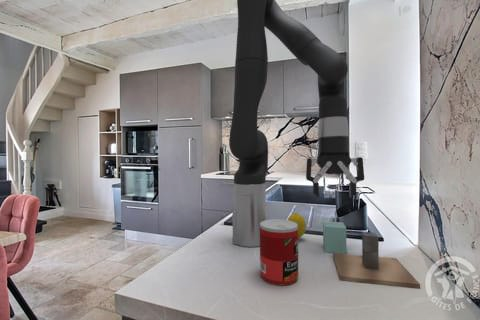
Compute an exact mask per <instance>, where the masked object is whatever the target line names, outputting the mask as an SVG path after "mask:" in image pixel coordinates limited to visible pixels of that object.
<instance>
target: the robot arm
mask: <svg viewBox="0 0 480 320" xmlns="http://www.w3.org/2000/svg"><path fill="white" fill-rule="evenodd" d="M236 5H237V35H236V47H235V60H234V62H235V63H234V92H233V109H232V110H233V111H232V116H231V123H230V130H229V131H230V132H229V138H228V139H229V140H228V146H229V150H230V152H231V154H232V156H233V157H234V158H236V159H237V160H239V162H238V163H239V165H238V168H237V170H236V172H235V173H234V175H233V193H234V194H233V200H234V202H233V205H234V207H233V208H234V209H233V210H232V214H231V217H232V244H235V245H238V246H241V247H247V248H252V247H260V223H261V222H262V221H265V220H267V197H266V195H267V192H266V191H267V189H266V187H267V186H266V182H267V180H266V178H267V173H268V171H269V170H268V168H269V142H268V139H267V136H266V135H265V133H264V132H262V131H261V130H259V129H258V110H259V106H260V102H261V100H262V98H263V95H264V92H265V90H266V89H265V88H266V86H267V80H268V70H269V69H268V68H269V67H268V66H269V60H268V59H269V56H268V46H267V45H268V43H267V37H266V30H265V29H267V30H268V31H270V33H272V34H273V35H274V36H275V37H276V38H277V39H278V40H279V41H280V43H282V44H283V45H284V46H285V48H286V49H288V50H289V52H290V53H291V54H292V55H293V56H294V57H295V58H296V59H297V60H298V61H299V62H300V63H302V64H303V65H304V66H308V67H310V69H312V70H313V72H314V73H315V74H316V75H317V89H318V99H319V102H318V128H317V131H318V133H317V136H318V137H317V139H318V140H317V141H318V157H317V158H309V157H308V158H307V159H306V169H305V174H306V175H305V180H306V181H309V182H311V183H312V189H313V190H312V193H313V195H314V196H315V198H320V185H319V181H320V179H321V178H322V177H323V176H324V175H325V174H327V175H333V174H334V175H341V174H344V176H345V178H347V179H348V181H349V183H348V185H349V188H348V189H349V192H348V193H349V194H348V195H349V198H350V199H351V198H352V199H353V198H355V196H357V184H358V183H359V182H364V180H365V169H364V168H365V167H364V159H363V157H361V156H358V157H353V158H351V157H350V144H349V143H350V142H349V141H350V138H349V136H350V135H349V133H350V132H349V121H348V105H347V104H348V101H347V98H346V97H345V79H346V76H347V75H348V72H349V68H348V67H349V66H348V62H346V60H345V58H344V57H343V55H341V54H340V53H339V52H337V51H336V50H334V49H333V48H332V47H330V46H329V45H326V44H325V43H323V42H322V41H321V40H320V38H318V37H317V36H316V34H314V33H313V31H311V29H309V27H307V26H306V25H305V24H303V23H302V22H300V21H299V20H297V19H294V18H293V17H291V16H290V15H288V14H287V13H286V12H285V11H284V10H283V9H282V7H280V5H279V3H277V1H276V0H236ZM316 163H317V165H318V166H319V167H320V169H319V171H317V173H316V175H315V176H312V168H313V167H314V166H315V165H316ZM351 163H352V164H353V166H354V167H355V168H356V176H354V175H353V174H352V172H351V171H350V169H349V168H348V167H349V166H350V165H351Z"/></svg>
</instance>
